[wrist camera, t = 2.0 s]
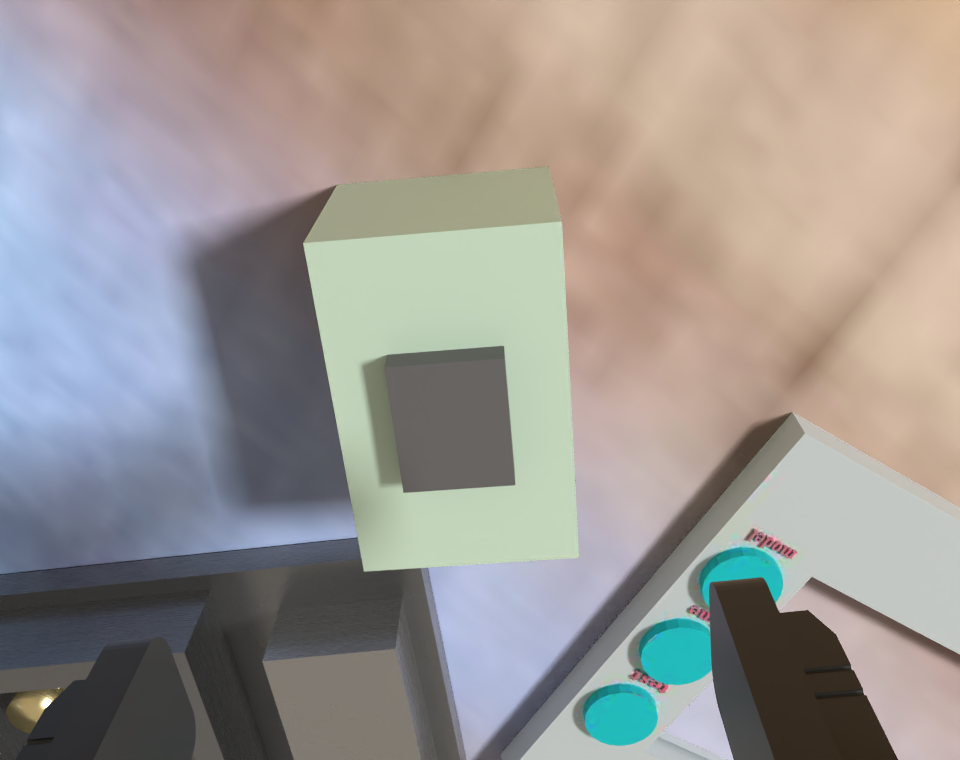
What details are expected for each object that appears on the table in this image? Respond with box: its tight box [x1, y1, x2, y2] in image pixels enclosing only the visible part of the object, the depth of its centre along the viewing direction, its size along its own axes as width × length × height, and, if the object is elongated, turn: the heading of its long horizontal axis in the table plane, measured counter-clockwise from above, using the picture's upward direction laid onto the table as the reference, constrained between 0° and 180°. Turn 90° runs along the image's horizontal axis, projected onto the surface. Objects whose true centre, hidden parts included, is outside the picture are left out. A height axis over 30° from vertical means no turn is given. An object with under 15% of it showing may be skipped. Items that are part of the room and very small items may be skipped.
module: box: [303, 166, 579, 572], centre depth 21 cm, size 8×5×5 cm, turn 5°
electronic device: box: [500, 412, 960, 760], centre depth 29 cm, size 18×2×15 cm
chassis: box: [0, 538, 466, 760], centre depth 28 cm, size 12×16×4 cm
